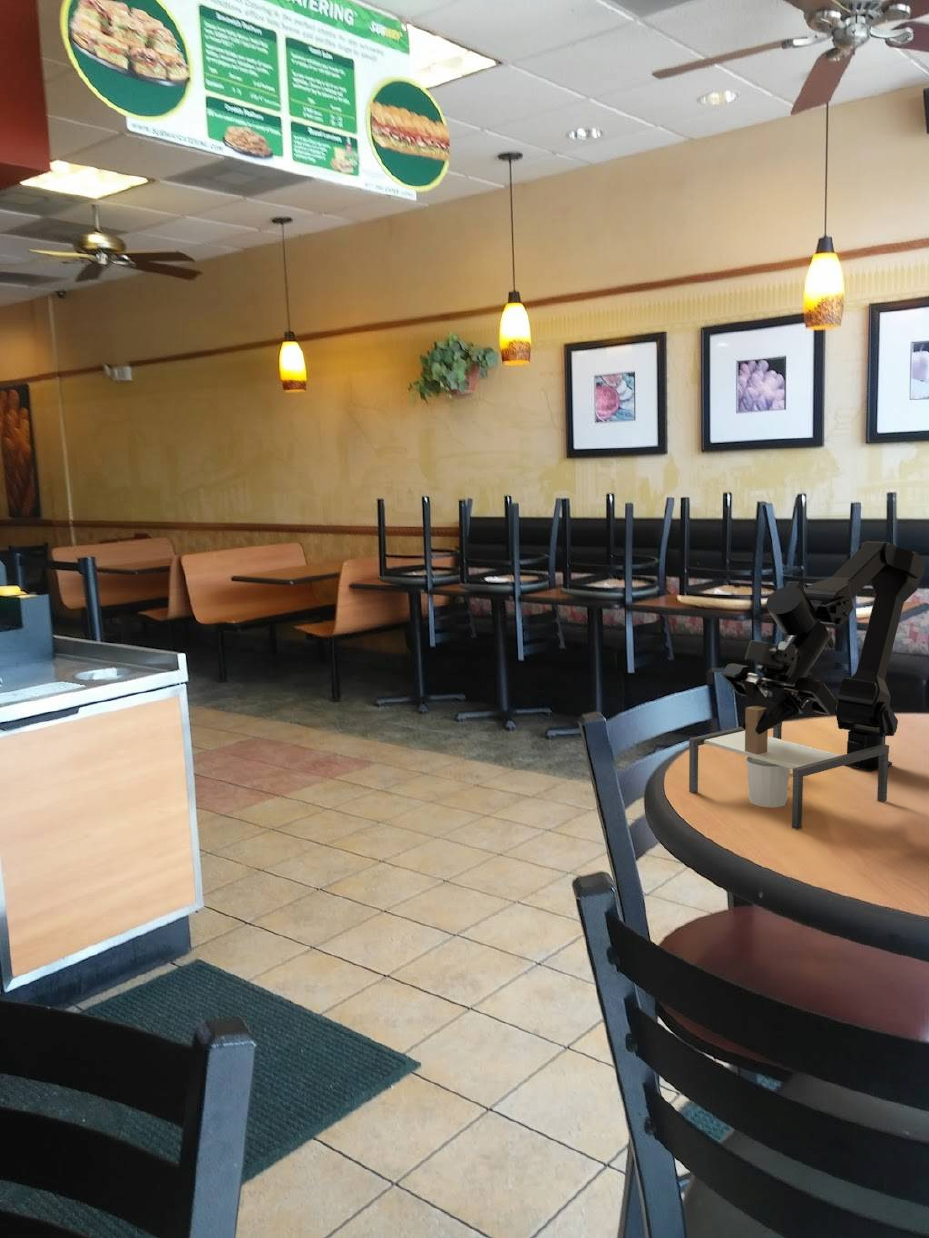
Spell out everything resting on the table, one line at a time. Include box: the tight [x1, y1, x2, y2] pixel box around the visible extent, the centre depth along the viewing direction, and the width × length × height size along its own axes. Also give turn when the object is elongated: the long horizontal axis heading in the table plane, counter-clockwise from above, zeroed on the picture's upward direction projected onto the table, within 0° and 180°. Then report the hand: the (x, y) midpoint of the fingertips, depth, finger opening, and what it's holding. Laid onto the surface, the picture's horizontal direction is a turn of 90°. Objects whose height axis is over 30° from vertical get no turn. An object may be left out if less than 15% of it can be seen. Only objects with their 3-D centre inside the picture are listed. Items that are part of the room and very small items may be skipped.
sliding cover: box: [704, 706, 841, 770], centre depth 159 cm, size 10×19×8 cm, turn 33°
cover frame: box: [688, 721, 890, 830], centre depth 162 cm, size 22×22×9 cm
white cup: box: [745, 756, 791, 809], centre depth 160 cm, size 7×7×7 cm
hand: (750, 730), depth 157 cm, fingers closed on sliding cover, 2 cm apart
